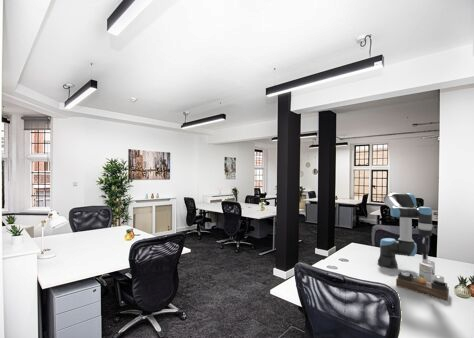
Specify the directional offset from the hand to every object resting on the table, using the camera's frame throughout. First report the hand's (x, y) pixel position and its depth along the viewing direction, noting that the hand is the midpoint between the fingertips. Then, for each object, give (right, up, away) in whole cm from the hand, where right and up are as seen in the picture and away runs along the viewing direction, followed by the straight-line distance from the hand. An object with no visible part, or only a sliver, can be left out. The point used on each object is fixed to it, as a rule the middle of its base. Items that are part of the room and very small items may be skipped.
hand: (425, 263), depth 168 cm
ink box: (+16, -20, +19) cm, 32 cm away
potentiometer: (-1, -14, +2) cm, 14 cm away
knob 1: (-8, -14, +8) cm, 18 cm away
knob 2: (+6, -11, -5) cm, 13 cm away
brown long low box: (-1, -19, +1) cm, 19 cm away
